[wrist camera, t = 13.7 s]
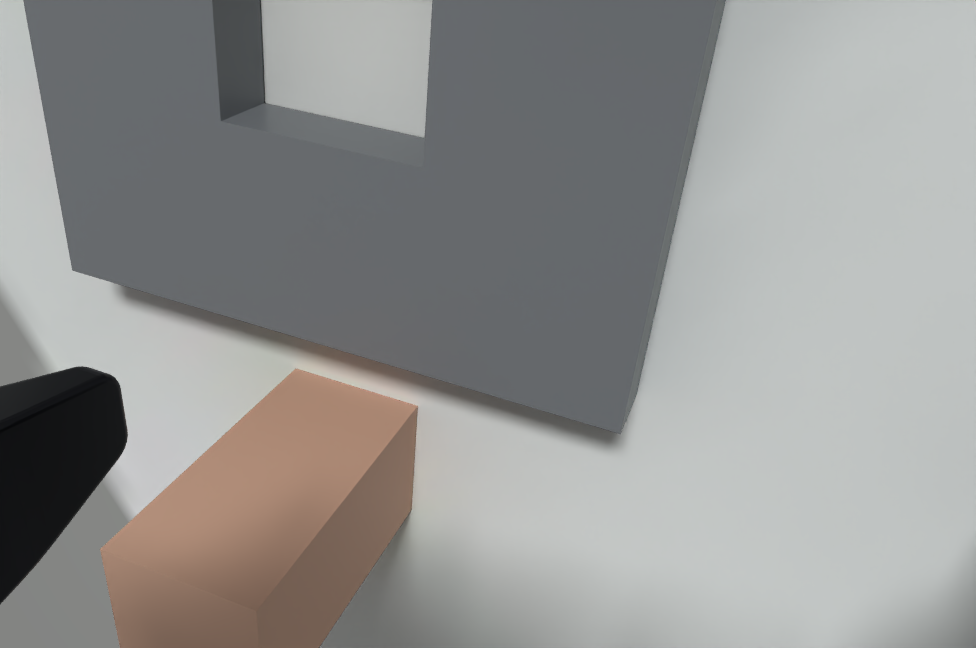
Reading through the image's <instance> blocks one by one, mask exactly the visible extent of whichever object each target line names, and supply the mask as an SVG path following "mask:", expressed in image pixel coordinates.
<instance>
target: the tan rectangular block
mask: <svg viewBox="0 0 976 648" xmlns="http://www.w3.org/2000/svg"><path fill="white" fill-rule="evenodd" d="M417 410H418V406H416V405H413V404H409V403H406V402H403V401H400V400H396V399H393V398H390V397H387V396H383V395H380V394H377V393H374V392H370V391H367V390H364V389H360V388H357V387H354V386H351V385H347V384H344V383H341V382H338V381H334V380H331V379H328V378H325V377H321V376H318V375H315V374H312V373H308V372H305V371H302V370H299V369H295V370H294V371H293V372H291V373H290V374H289V375H288V376H287V377H286V378H285V379H284V380H283V381H282V382H281V383H280V384H278V385H277V386H276V387H275V388H274V389H273V390H272V391H271V392H270V393H269V394H268V395H267V396H265V397H264V398H263V399H262V400H261V401H260V402H259V403H258V404H257V405H256V406H255V407H254V408H252V409H251V410H250V411H249V412H248V413H247V414H246V415H245V416H244V417H243V418H242V419H241V420H239V421H238V422H237V423H236V424H235V425H234V426H233V427H232V428H231V429H230V430H229V431H228V432H226V433H225V434H224V435H223V436H222V437H221V438H220V439H219V440H218V441H217V442H216V443H215V444H213V445H212V446H211V447H210V448H209V449H208V450H207V451H206V452H205V453H204V454H203V455H202V456H200V457H199V458H198V459H197V460H196V461H195V462H194V463H193V464H192V465H191V466H190V467H189V468H187V469H186V470H185V471H184V472H183V473H182V474H181V475H180V476H179V477H178V478H177V479H176V480H174V481H173V482H172V483H171V484H170V485H169V486H168V487H167V488H166V489H165V490H164V491H163V492H161V493H160V494H159V495H158V496H157V497H156V498H155V499H154V500H153V501H152V502H151V503H150V504H148V505H147V506H146V507H145V508H144V509H143V510H142V511H141V512H140V513H139V514H138V515H137V516H135V517H134V518H133V519H132V520H131V521H130V522H129V523H128V524H127V525H126V526H125V527H124V528H123V529H121V530H120V531H119V532H118V533H117V534H116V535H115V536H114V537H113V538H112V539H111V540H110V541H108V542H107V544H105V545H104V546H103V547H102V548H101V549H100V550H101V555H102V560H103V565H104V570H105V575H106V580H107V585H108V589H109V595H110V600H111V604H112V610H113V615H114V620H115V625H116V629H117V635H118V639H119V644H120V648H319V647H320V646H321V644H322V643H323V641H324V640H325V638H326V637H327V635H328V634H329V632H330V631H331V629H332V628H333V626H334V625H335V623H336V622H337V620H338V619H339V617H340V616H341V614H342V613H343V611H344V610H345V608H346V607H347V605H348V604H349V602H350V601H351V599H352V598H353V596H354V595H355V593H356V592H357V590H358V589H359V587H360V586H361V584H362V583H363V581H364V580H365V578H366V577H367V575H368V574H369V572H370V571H371V569H372V568H373V566H374V565H375V563H376V562H377V560H378V559H379V557H380V556H381V554H382V553H383V551H384V550H385V549H386V547H387V546H388V544H389V543H390V541H391V540H392V538H393V537H394V535H395V534H396V532H397V531H398V529H399V528H400V526H401V525H402V523H403V522H404V520H405V519H406V517H407V516H408V514H409V513H410V511H411V510H412V493H413V476H414V460H415V443H416V427H417Z"/></svg>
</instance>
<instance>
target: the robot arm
mask: <svg viewBox="0 0 976 648" xmlns="http://www.w3.org/2000/svg"><path fill="white" fill-rule="evenodd" d="M127 437H128V432H127V425H126V419H125V413H124V406H123V400H122V394H121V388H120V385H119V383H118V381H117V380H116V378H115V377H113V376H112V375H110V374H107V373H104V372H101V371H98V370H95V369H92V368H89V367H74V368H70V369H66V370H62V371H59V372H55V373H51V374H47V375H43V376H39V377H35V378H32V379H27V380H24V381H20V382H16V383H12V384H8V385H4V386H0V604H1V603H2V602H3V601H4V600H5V599H6V598H7V596H8V595H9V594H10V593H11V592H12V591H13V590H14V589H15V588H16V587H17V586H18V585H19V584H20V582H21V581H22V580H23V579H24V578H25V577H26V576H27V575H28V573H29V572H30V571H31V570H32V569H33V568H34V567H35V566H36V564H37V563H38V562H39V561H40V560H41V558H42V557H43V556H44V555H45V553H46V552H47V550H49V548H50V547H51V546H52V544H53V543H54V542H55V541H56V539H57V538H58V537H59V536H60V534H61V533H62V532H63V530H64V529H65V528H66V526H67V525H68V524H69V523H70V521H71V520H72V518H73V517H74V516H75V515H76V513H77V512H78V511H79V509H80V508H81V507H82V506H83V504H84V503H85V502H86V500H87V499H88V498H89V496H90V495H91V494H92V492H93V491H94V490H95V489H96V487H97V486H98V485H99V483H100V482H101V481H102V480H103V478H104V477H105V476H106V474H107V473H108V472H109V470H110V469H111V468H112V467H113V465H114V464H115V463H116V461H117V460H118V459H119V457H120V456H121V454H122V452H123V450H124V448H125V446H126V443H127Z"/></svg>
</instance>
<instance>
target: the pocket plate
mask: <svg viewBox="0 0 976 648" xmlns="http://www.w3.org/2000/svg"><path fill="white" fill-rule="evenodd" d="M725 1H726V0H433V2H432V19H431V37H430V55H429V72H428V90H427V108H426V126H425V138H422V137H417V136H413V135H408V134H404V133H399V132H394V131H390V130H385V129H381V128H376V127H372V126H367V125H362V124H358V123H353V122H349V121H344V120H340V119H335V118H330V117H326V116H321V115H317V114H312V113H308V112H303V111H298V110H294V109H289V108H285V107H280V106H275V105H271V104H266V103H264V80H263V57H262V34H261V12H260V0H24V6H25V11H26V17H27V23H28V28H29V34H30V39H31V45H32V50H33V56H34V61H35V67H36V72H37V78H38V83H39V89H40V94H41V100H42V105H43V111H44V116H45V122H46V127H47V133H48V138H49V144H50V150H51V155H52V161H53V166H54V172H55V177H56V183H57V188H58V194H59V199H60V205H61V210H62V216H63V221H64V227H65V232H66V238H67V243H68V249H69V254H70V260H71V265H72V270H73V271H76V272H79V273H83V274H86V275H89V276H93V277H96V278H99V279H103V280H106V281H110V282H113V283H116V284H120V285H123V286H126V287H130V288H133V289H136V290H140V291H143V292H146V293H150V294H153V295H156V296H160V297H163V298H166V299H170V300H173V301H177V302H180V303H183V304H187V305H190V306H193V307H197V308H200V309H203V310H207V311H210V312H213V313H217V314H220V315H223V316H227V317H230V318H233V319H237V320H240V321H243V322H247V323H250V324H254V325H257V326H260V327H264V328H267V329H270V330H274V331H277V332H280V333H284V334H287V335H290V336H294V337H297V338H300V339H304V340H307V341H310V342H314V343H317V344H321V345H324V346H327V347H331V348H334V349H337V350H341V351H344V352H347V353H351V354H354V355H357V356H361V357H364V358H367V359H371V360H374V361H377V362H381V363H384V364H388V365H391V366H394V367H398V368H401V369H404V370H408V371H411V372H414V373H418V374H421V375H424V376H428V377H431V378H434V379H438V380H441V381H444V382H448V383H451V384H455V385H458V386H461V387H465V388H468V389H471V390H475V391H478V392H481V393H485V394H488V395H491V396H495V397H498V398H501V399H505V400H508V401H511V402H515V403H518V404H521V405H525V406H528V407H532V408H535V409H538V410H542V411H545V412H548V413H552V414H555V415H558V416H562V417H565V418H568V419H572V420H575V421H578V422H582V423H585V424H588V425H592V426H595V427H599V428H602V429H605V430H609V431H612V432H615V433H619V434H621V432H622V429H623V427H624V424H625V422H626V419H627V417H628V414H629V412H630V409H631V407H632V404H633V402H634V399H635V397H636V394H637V390H638V385H639V381H640V376H641V372H642V368H643V363H644V359H645V354H646V350H647V346H648V341H649V337H650V332H651V328H652V323H653V319H654V315H655V310H656V306H657V301H658V297H659V293H660V288H661V284H662V279H663V275H664V271H665V266H666V262H667V257H668V253H669V248H670V244H671V240H672V235H673V231H674V226H675V222H676V218H677V213H678V209H679V204H680V200H681V195H682V191H683V187H684V182H685V178H686V173H687V169H688V165H689V160H690V156H691V151H692V147H693V143H694V138H695V134H696V129H697V125H698V120H699V116H700V112H701V107H702V103H703V98H704V94H705V90H706V85H707V81H708V76H709V72H710V68H711V63H712V59H713V54H714V50H715V45H716V41H717V37H718V32H719V28H720V23H721V19H722V15H723V10H724V6H725Z"/></svg>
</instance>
